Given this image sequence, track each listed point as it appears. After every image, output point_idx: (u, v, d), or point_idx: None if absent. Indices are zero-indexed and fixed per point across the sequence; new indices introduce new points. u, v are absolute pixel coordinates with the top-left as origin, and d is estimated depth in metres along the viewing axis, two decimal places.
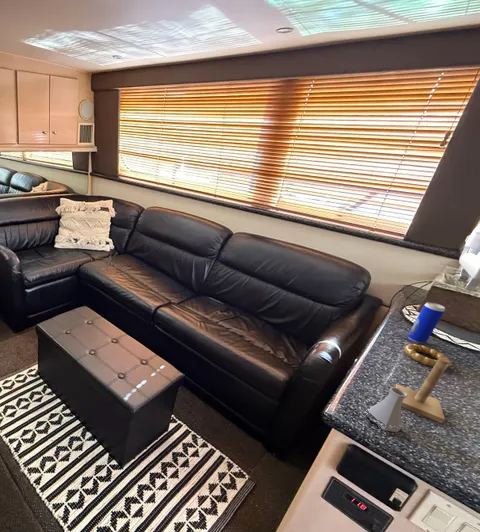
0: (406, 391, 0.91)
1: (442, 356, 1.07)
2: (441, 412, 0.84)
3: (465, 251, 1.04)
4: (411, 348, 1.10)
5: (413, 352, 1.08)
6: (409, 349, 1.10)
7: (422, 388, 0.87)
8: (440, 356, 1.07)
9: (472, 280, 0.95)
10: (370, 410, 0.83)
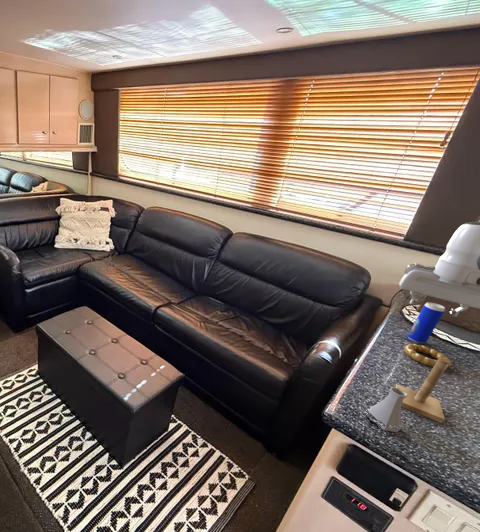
0: (406, 391, 0.91)
1: (442, 356, 1.07)
2: (441, 412, 0.84)
3: None
4: (411, 348, 1.10)
5: (413, 352, 1.08)
6: (409, 349, 1.10)
7: (422, 388, 0.87)
8: (440, 356, 1.07)
9: (410, 292, 1.08)
10: (370, 410, 0.83)
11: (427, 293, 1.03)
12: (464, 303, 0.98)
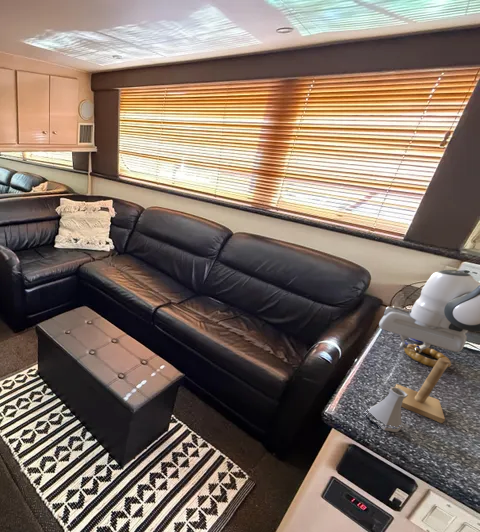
0: (406, 391, 0.91)
1: (442, 356, 1.07)
2: (441, 412, 0.84)
3: None
4: (411, 348, 1.10)
5: (413, 352, 1.08)
6: (409, 349, 1.10)
7: (422, 388, 0.87)
8: (440, 356, 1.07)
9: (400, 335, 1.12)
10: (370, 410, 0.83)
11: (404, 334, 1.09)
12: (438, 345, 1.05)
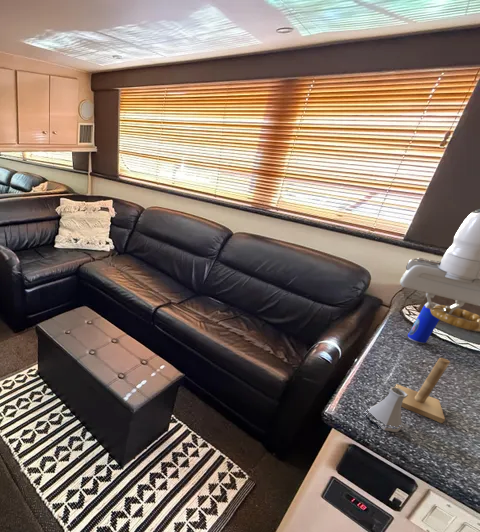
0: (406, 391, 0.91)
1: (478, 317, 0.88)
2: (441, 412, 0.84)
3: None
4: (439, 309, 0.91)
5: (442, 313, 0.89)
6: (437, 309, 0.91)
7: (422, 388, 0.87)
8: (476, 317, 0.88)
9: (426, 294, 0.93)
10: (370, 410, 0.83)
11: (432, 291, 0.90)
12: (475, 303, 0.85)
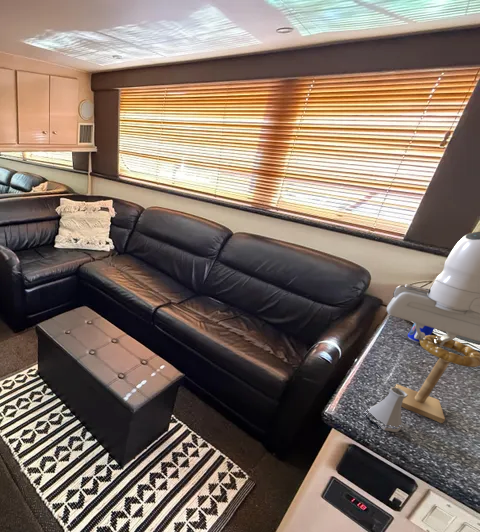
0: (406, 391, 0.91)
1: (471, 350, 0.80)
2: (441, 412, 0.84)
3: None
4: (429, 340, 0.83)
5: (432, 345, 0.81)
6: (427, 341, 0.83)
7: (422, 388, 0.87)
8: (469, 350, 0.80)
9: (415, 323, 0.85)
10: (370, 410, 0.83)
11: (421, 322, 0.82)
12: (468, 336, 0.78)
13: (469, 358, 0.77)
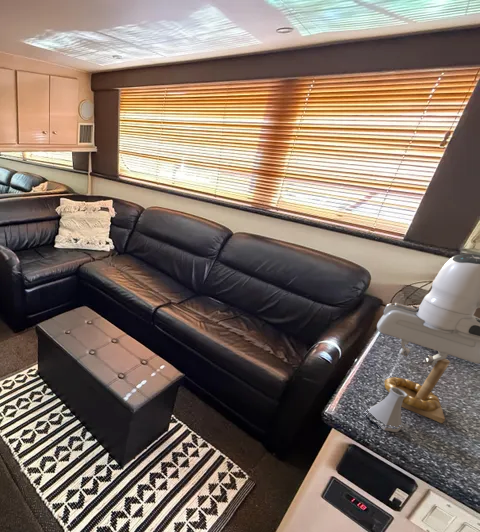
0: (406, 391, 0.91)
1: None
2: (441, 412, 0.84)
3: None
4: (392, 383, 0.90)
5: None
6: (390, 384, 0.90)
7: (422, 388, 0.87)
8: None
9: (400, 339, 0.88)
10: (370, 410, 0.83)
11: (410, 339, 0.85)
12: (454, 354, 0.80)
13: (426, 403, 0.84)
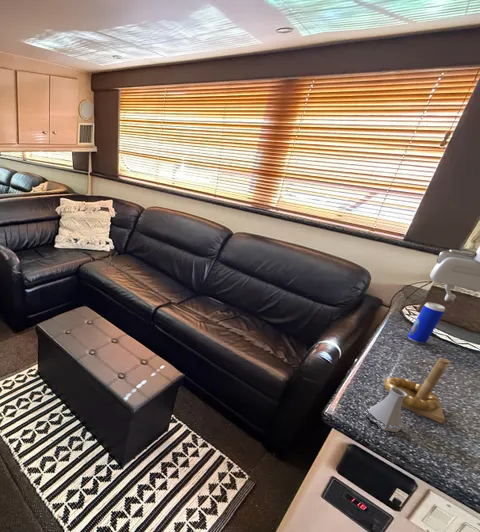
0: (406, 391, 0.91)
1: None
2: (441, 412, 0.84)
3: None
4: (392, 383, 0.90)
5: None
6: (390, 384, 0.90)
7: (422, 388, 0.87)
8: None
9: (445, 285, 0.87)
10: (370, 410, 0.83)
11: (468, 286, 0.82)
12: None
13: (426, 403, 0.84)
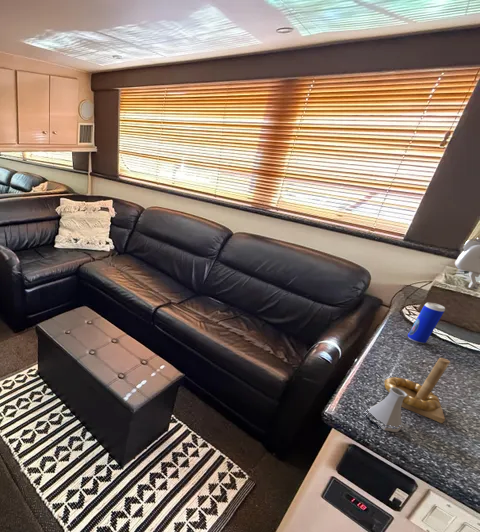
0: (406, 391, 0.91)
1: None
2: (441, 412, 0.84)
3: None
4: (392, 383, 0.90)
5: None
6: (390, 384, 0.90)
7: (422, 388, 0.87)
8: None
9: (469, 273, 0.88)
10: (370, 410, 0.83)
11: None
12: None
13: (426, 403, 0.84)
